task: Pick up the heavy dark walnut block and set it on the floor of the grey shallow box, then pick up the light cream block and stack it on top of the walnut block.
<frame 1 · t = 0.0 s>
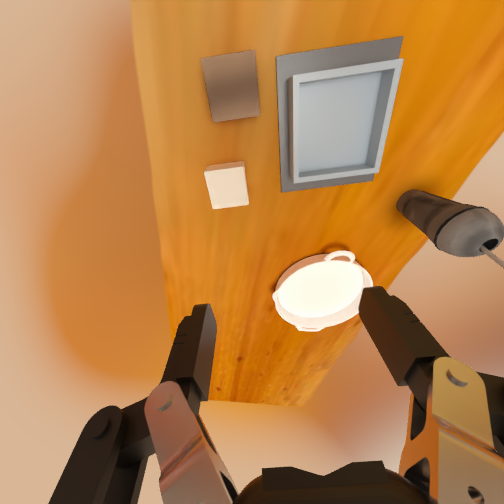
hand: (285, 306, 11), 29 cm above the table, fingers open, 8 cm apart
pan: (319, 286, 52), on the table
grey shallow box: (330, 127, 32), on the table
beverage cup: (408, 201, 39), on the table
cream block: (229, 181, 36), on the table
walnut block: (234, 92, 29), on the table
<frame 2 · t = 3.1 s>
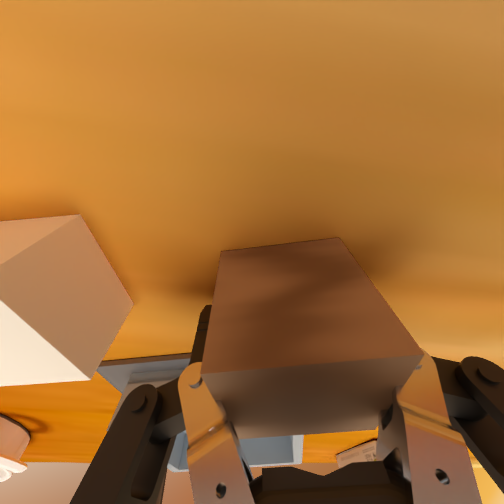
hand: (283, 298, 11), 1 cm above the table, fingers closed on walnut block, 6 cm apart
grey shallow box: (227, 395, 20), on the table
tea box: (387, 448, 34), on the table
cream block: (58, 268, 11), on the table
walnut block: (281, 286, 12), on the table, touching gripper
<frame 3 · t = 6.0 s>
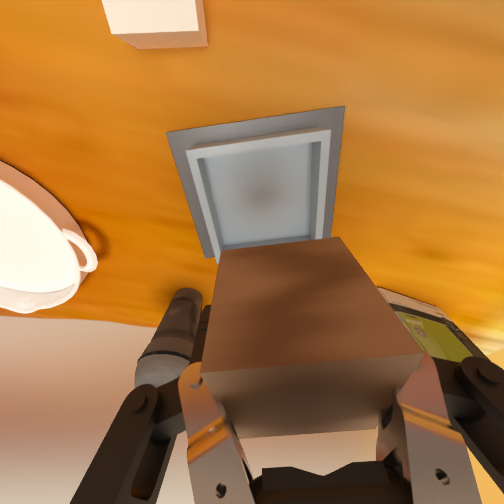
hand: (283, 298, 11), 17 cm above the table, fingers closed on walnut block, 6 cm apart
pan: (6, 231, 28), on the table
grey shallow box: (261, 195, 25), on the table
beverage cup: (189, 296, 35), on the table
tea box: (388, 312, 39), on the table
walnut block: (281, 286, 12), point 16 cm above the table, touching gripper
when the fingers open (4 cm above the table, at t = 8.8 s): walnut block drops 2 cm, resting on grey shallow box.
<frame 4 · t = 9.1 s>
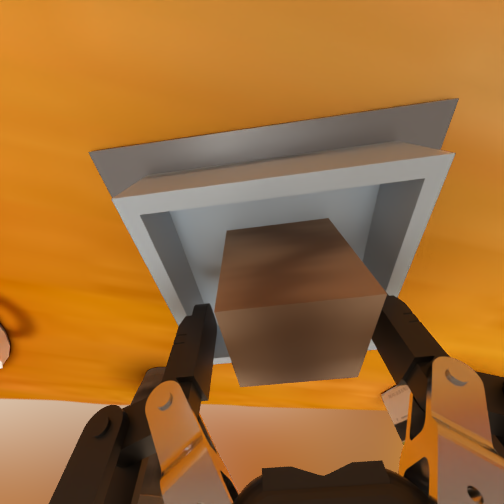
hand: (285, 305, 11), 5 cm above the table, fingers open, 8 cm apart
grey shallow box: (274, 254, 15), on the table
beverage cup: (166, 374, 25), on the table
tea box: (442, 385, 29), on the table
walnut block: (279, 264, 14), point 1 cm above the table, touching grey shallow box
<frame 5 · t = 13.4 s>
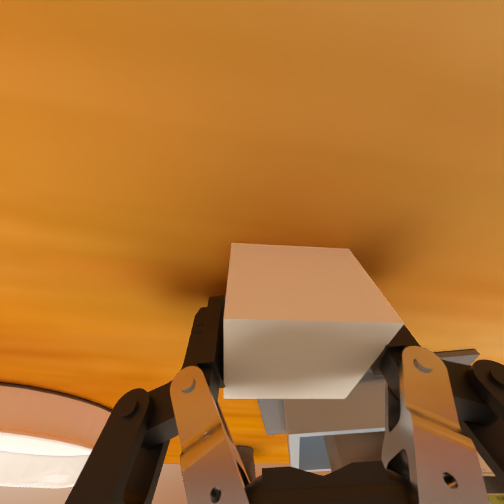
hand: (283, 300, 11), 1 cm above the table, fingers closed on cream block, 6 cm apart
pan: (40, 420, 24), on the table
grey shallow box: (346, 399, 21), on the table
beverage cup: (238, 448, 31), on the table
tea box: (455, 449, 35), on the table
cream block: (281, 288, 12), on the table, touching gripper
walnut block: (353, 413, 20), point 1 cm above the table, touching grey shallow box
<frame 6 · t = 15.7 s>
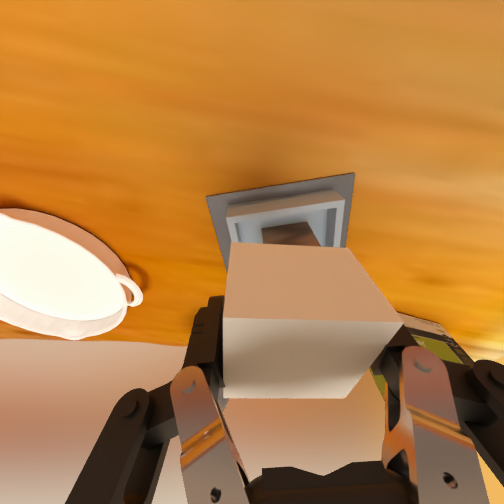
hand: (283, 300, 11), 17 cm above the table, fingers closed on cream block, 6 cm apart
pan: (62, 272, 32), on the table
grey shallow box: (282, 240, 30), on the table
tea box: (394, 328, 43), on the table
cream block: (281, 288, 12), point 16 cm above the table, touching gripper
walnut block: (285, 244, 28), point 1 cm above the table, touching grey shallow box
when the fingers open (9 cm above the table, at t = 18.4 s): cream block stays where it is, resting on walnut block.
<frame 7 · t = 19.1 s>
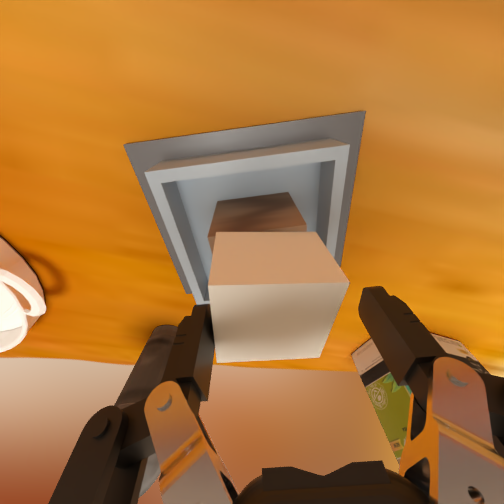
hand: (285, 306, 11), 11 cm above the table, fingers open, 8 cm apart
grey shallow box: (253, 223, 20), on the table
beverage cup: (169, 333, 30), on the table
tea box: (402, 346, 34), on the table
cream block: (263, 270, 14), point 7 cm above the table, touching gripper, walnut block
walnut block: (256, 228, 19), point 1 cm above the table, touching cream block, grey shallow box
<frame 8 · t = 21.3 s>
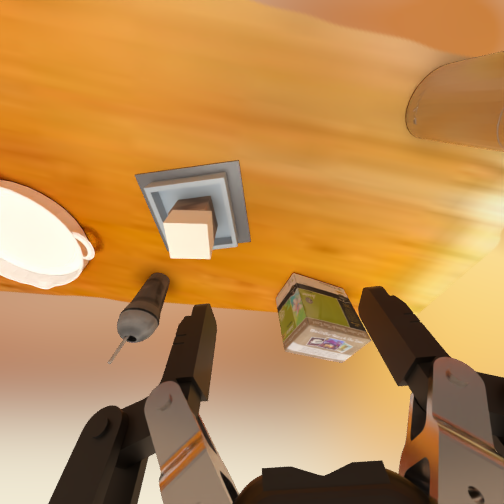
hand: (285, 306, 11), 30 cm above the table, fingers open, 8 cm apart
pan: (35, 233, 42), on the table
grey shallow box: (199, 210, 40), on the table
beverage cup: (160, 279, 50), on the table
tea box: (308, 292, 54), on the table
cream block: (194, 227, 34), point 7 cm above the table, touching walnut block
walnut block: (198, 213, 39), point 1 cm above the table, touching cream block, grey shallow box
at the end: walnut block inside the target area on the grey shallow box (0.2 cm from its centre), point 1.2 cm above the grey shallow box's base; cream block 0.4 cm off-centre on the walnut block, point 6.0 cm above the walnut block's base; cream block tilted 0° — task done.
